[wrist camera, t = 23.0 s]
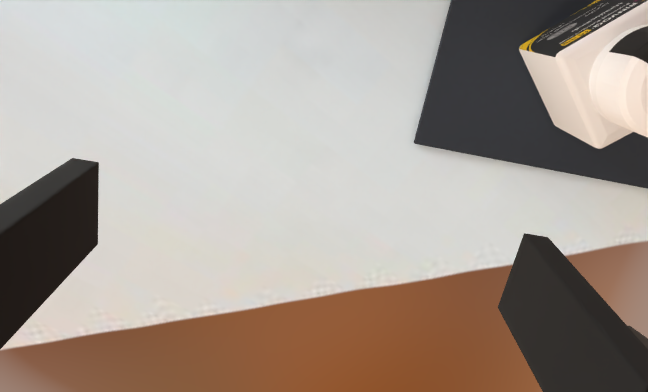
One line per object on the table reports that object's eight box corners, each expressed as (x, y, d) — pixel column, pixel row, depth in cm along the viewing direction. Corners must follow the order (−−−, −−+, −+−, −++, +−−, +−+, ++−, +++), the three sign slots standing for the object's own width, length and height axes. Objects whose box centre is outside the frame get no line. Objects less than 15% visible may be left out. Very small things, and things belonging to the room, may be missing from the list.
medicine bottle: (608, -9, 36) (733, -14, 25) (642, 78, 38) (772, 109, 27) (515, 46, 38) (594, 64, 26) (553, 127, 40) (642, 176, 29)
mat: (476, -95, 35) (477, -96, 34) (763, -32, 36) (767, -33, 36) (413, 142, 41) (414, 143, 40) (661, 190, 42) (664, 191, 42)
